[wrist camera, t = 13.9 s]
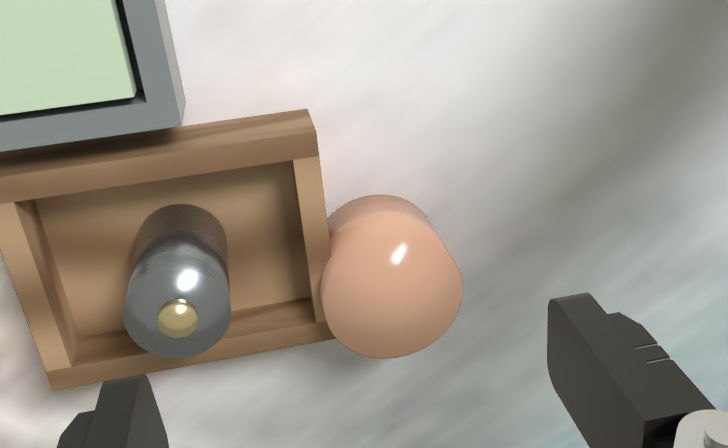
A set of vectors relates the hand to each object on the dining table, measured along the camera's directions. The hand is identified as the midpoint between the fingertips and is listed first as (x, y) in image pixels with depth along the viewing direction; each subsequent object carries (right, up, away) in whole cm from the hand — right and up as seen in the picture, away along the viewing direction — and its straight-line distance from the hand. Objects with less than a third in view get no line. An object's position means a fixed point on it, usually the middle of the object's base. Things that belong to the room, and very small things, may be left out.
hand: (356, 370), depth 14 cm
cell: (-9, +2, +21) cm, 23 cm away
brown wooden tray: (-9, +2, +22) cm, 24 cm away
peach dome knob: (+1, +1, +25) cm, 25 cm away
